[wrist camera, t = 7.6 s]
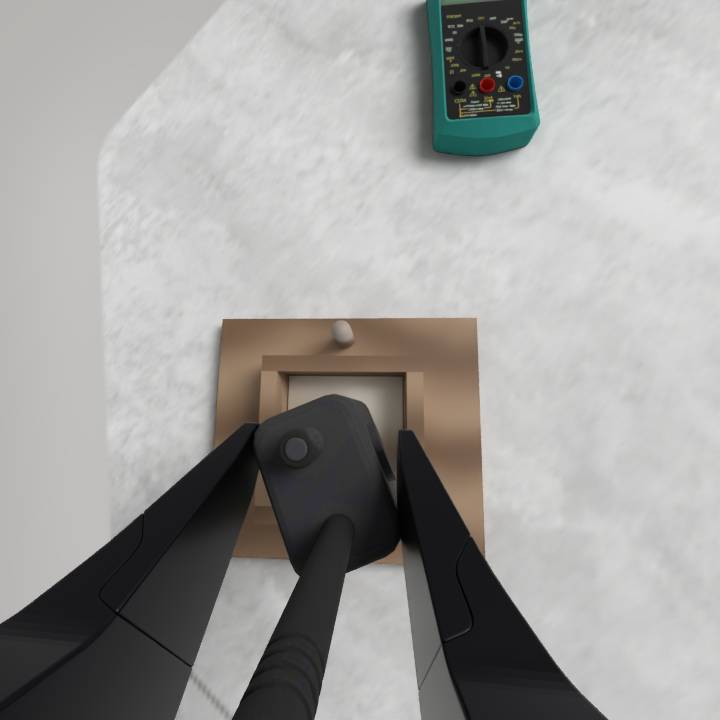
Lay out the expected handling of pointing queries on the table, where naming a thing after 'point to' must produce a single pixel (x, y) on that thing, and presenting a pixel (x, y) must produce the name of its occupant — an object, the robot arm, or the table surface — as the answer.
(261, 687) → the walkie-talkie
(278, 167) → the table surface
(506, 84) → the digital multimeter
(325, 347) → the wooden frame board
